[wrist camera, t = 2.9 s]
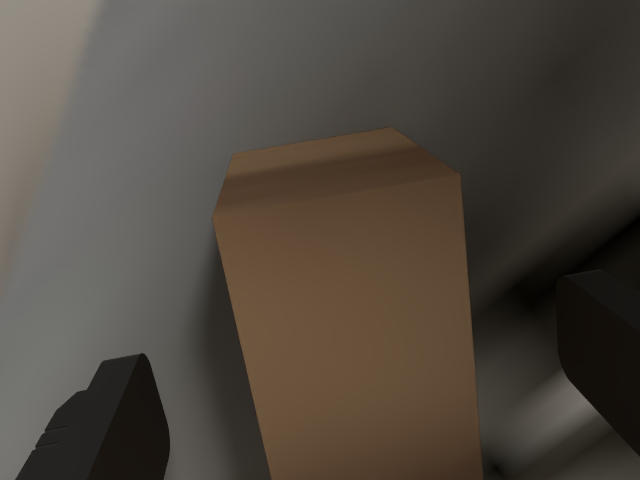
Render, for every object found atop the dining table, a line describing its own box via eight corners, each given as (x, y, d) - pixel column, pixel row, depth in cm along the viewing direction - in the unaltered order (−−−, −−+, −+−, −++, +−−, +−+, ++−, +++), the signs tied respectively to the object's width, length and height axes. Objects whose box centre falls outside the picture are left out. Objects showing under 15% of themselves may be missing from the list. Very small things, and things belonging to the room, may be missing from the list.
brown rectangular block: (229, 154, 14) (204, 224, 9) (395, 126, 14) (472, 178, 9) (311, 545, 19) (327, 756, 13) (439, 522, 19) (509, 721, 13)
